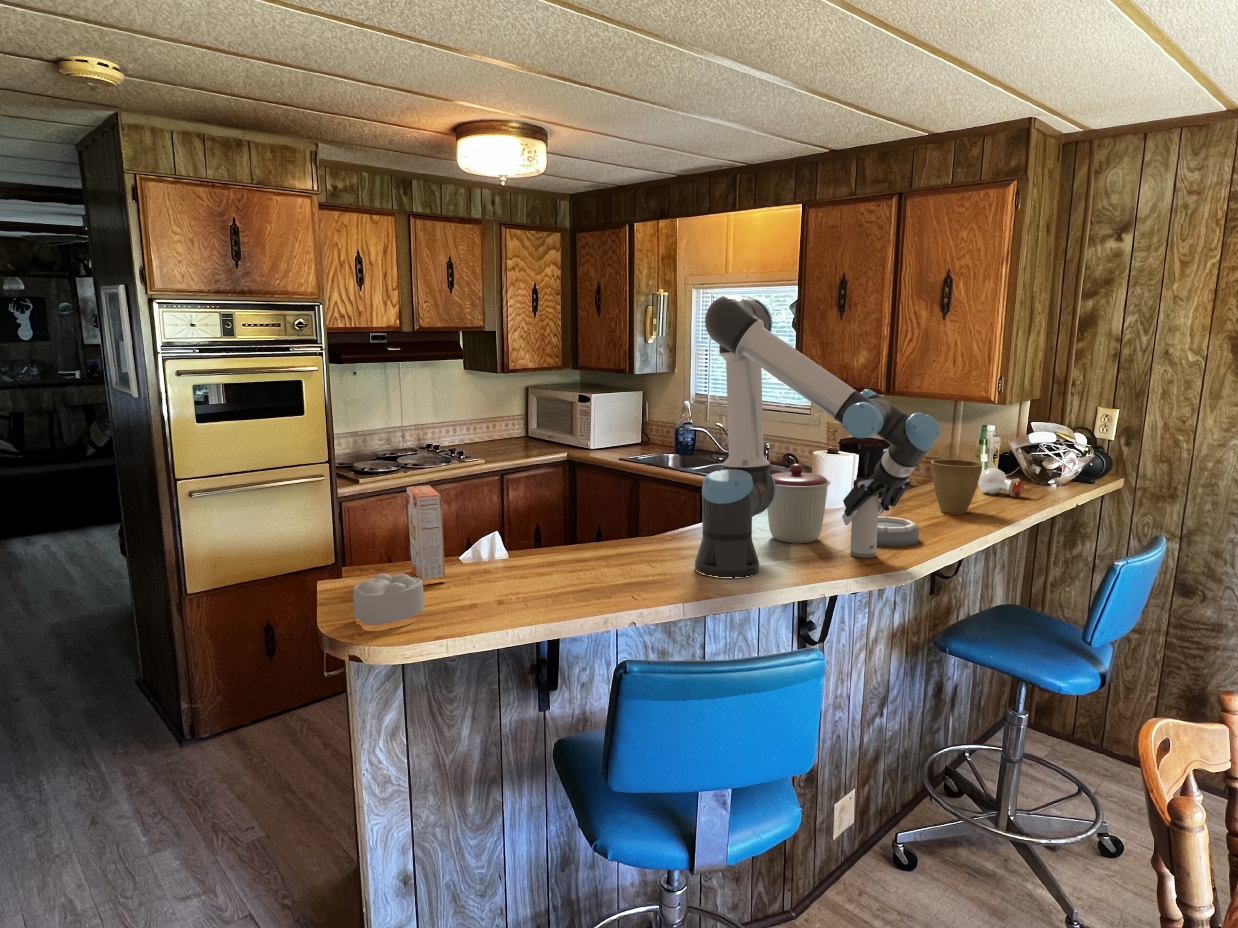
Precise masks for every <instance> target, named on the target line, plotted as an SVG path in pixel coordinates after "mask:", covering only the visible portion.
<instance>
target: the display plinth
mask: <svg viewBox="0 0 1238 928" xmlns="http://www.w3.org/2000/svg"><path fill="white" fill-rule="evenodd" d="M919 540H920V527H919V526H918V525H916V523H915V522H914V521H912V520H910V519H906V518H901V517H893V516H878V525H877V546H880V547H889V548H890V547H891V548H892V547H898V546H900V547H908V546H909V547H910V546H913V545H917V544H918V543H919Z"/></svg>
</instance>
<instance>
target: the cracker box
mask: <svg viewBox="0 0 1238 928" xmlns="http://www.w3.org/2000/svg"><path fill="white" fill-rule="evenodd" d="M441 496H442V495H440V494H439V492H437V490H435V489H434V488H433V487H432V486H431V485H430V484H429V485H427V484H426V485H414V486H408V487H406V498H407V512H408V514H407V515H408V528H409V529H408V530H409V541H410V542H409V543H410V560H411V571H414V572H415V573H416V575H417V576H418V577H419V579H421V580H426V579H433V578H438V577H445V578H446V571H445V567H446V566H445V554H444V553H445V551H444V536H443V516H442V498H441ZM414 572H413V573H414ZM416 575H415V576H416Z"/></svg>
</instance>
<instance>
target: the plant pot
mask: <svg viewBox="0 0 1238 928" xmlns="http://www.w3.org/2000/svg"><path fill="white" fill-rule="evenodd" d="M930 463H931V475H932V480H933V486H934V492H935V496H936V500H937V503H938V507H939V509H940V512H942V511H943V512H942V513H945V512H946V513H945V514H950V513H953V514H952V515H964V514H966V513H967V511H968V510H969V507H970V506H971V503H972V501H973V498H974V496H975V493H976V491H977V488H978V486H979V485H978V482H979V478H980V474H981V473H982V469H983V466H984V465H983V463H982V462H979V461H973V460H966V459H965V460H964V459H933V460H931V462H930Z"/></svg>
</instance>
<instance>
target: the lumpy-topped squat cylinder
mask: <svg viewBox="0 0 1238 928" xmlns="http://www.w3.org/2000/svg"><path fill="white" fill-rule="evenodd" d="M352 595H353V609H354V619H355V618H357V619H360V620H361V622H362V623H363V624H365V625H382V624H386V623H392V622H396V621H400V620H404V619H410V618H412V617H414V616H416V615H418V614H419V613H421V612H422V611H423V610H424V611H425V599H424V598H425V597H424V596H425V595H424V586H423V581H422V580H421V579H419V578H417V577H416V576H413V577H412V576H410V575H408V574H405V573H398V574H395V575H393V576H391V575H390V574H387V573H379V574H377V575H376V576H375V577H374V578H371V579H370V578H369V579H366V580H363V581H362V582H360V583H358V584H356V585H353V587H352Z"/></svg>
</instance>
